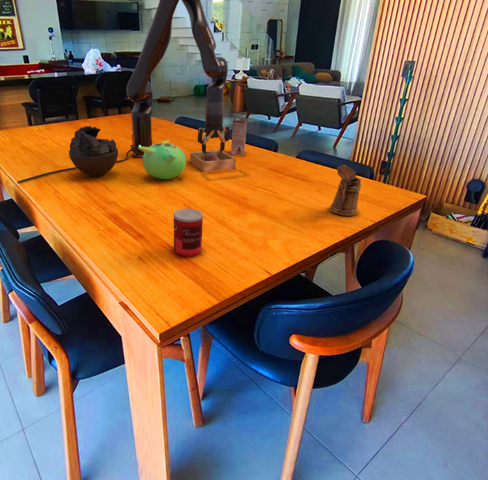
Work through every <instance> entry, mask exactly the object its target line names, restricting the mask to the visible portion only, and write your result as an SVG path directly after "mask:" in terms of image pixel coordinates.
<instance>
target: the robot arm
mask: <svg viewBox="0 0 488 480" xmlns="http://www.w3.org/2000/svg"><path fill="white" fill-rule="evenodd" d="M201 1H202V0H181V2H182V4H183V5H184V7H185V9H186V11H187V14H188V17H189V21H190V28H191V33H192V37H193V39H194V42H195V44H196V47H197V49H198V51H199V55H200V56H199V57H200V60H201V66H202V69H203V72H204V74H205V75H206V76H207V77H208V78H209V79H211V81H210V84H209V85H208V86H207V87H206V103H205V117H204V118H205V120H204V121H205V122H204V125H205V126H204V128H203V127H199V128H198V129H197V143H199V144H201V152H203V153H206V151H207V142H209V140H210V139H219V140H220V143H219V150H220V151H221V152H224V151H225V149H226V148H225V147H226V142H229V141H230V127H229V126H228V125H224V110H225V109H224V92H225V91H224V89H225V86H226V82H227V78H228V73H229V65H228V61H227V59H226V58H224V57H223V56H216V52H215V50H216V48H217V43H216V40H215V37H214V34H213V33H212V30H211V28H210V25H209V23H208V20H207V17H206V15H205V11H204V9H203V4H202V2H201ZM179 2H180V0H159V1H158V5H157V7H156V11H155V13H154V16H153V19H152V22H151V25H150V27H149V30H148V32H147V35H146V37H145V40H144V43H143V46H142V49H141V51H140V54H139V57H138V61H137V63H136V66H135V68H134V70H133V73H132V74H131V76H130V79H129V80H128V82H127V85H126V96H127V98H128V99H129V101H131V102H133V103H134V105H133V108H132V109H131V112H130V114H131V115H130V116H131V126H132V128H131V131H132V134H131V143H132V144H130V148H129V150H127V152H126V157H125V158H124V159H120V160H118V159H117V161H116V163H123V162H124V161H127V160H128V158H129V153H132V155H133V156H134V157H135V158H142V159H143V155H144V152H143V151H141V150H140V149H139V148H138V147H150V146H151V145H153V129H152V127H153V126H152V112H153V87H152V84H151V81H149V80H150V77H151V76H152V73H153V72H154V71H155V69H156V68H157V67H158V65H159V64H160V63H161V61H162V60H163V58H164V56H165V55H166V53H167V49H168V48H169V44H170V41H171V39H172V31H173V18H174V14H175V12H176V9H177V6H178V4H179ZM223 125H224V126H223ZM223 132H224V133H223ZM222 133H223V134H224V135H223V134H222ZM76 169H77V168H76V166H74V167H69V168H63V169H57V170H53V171H50V172H45V173H41V174H37V175H34V176H31V177H28V178H24V179H21V180H18V181H16V183H17V184H20V183H23V182H26V181H30V180H33V179H37V178H41V177H44V176H49V175H52V174H56V173H61V172H66V171H70V170H76ZM77 170H78V169H77Z"/></svg>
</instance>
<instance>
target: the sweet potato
mask: <svg viewBox="0 0 488 480" xmlns="http://www.w3.org/2000/svg"><path fill="white" fill-rule="evenodd" d="M217 160H220V159H219V158H218V157H217V156H216V155H214V154H212V153H207V154H206V155H205V161H217Z"/></svg>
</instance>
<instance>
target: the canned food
mask: <svg viewBox="0 0 488 480" xmlns="http://www.w3.org/2000/svg"><path fill="white" fill-rule="evenodd" d="M203 219H204V217H203V212H201V211H200V210H198V209H194V208H180V209H177V210H175V211H174V212H173V249H174V252H175V253H176V255H179V256H181V257H184V258H185V257H186V258H191V257H196V256H198V255H199V254H200V253H201V252H202V248H203V222H204V220H203Z"/></svg>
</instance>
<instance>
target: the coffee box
mask: <svg viewBox="0 0 488 480" xmlns="http://www.w3.org/2000/svg"><path fill="white" fill-rule="evenodd" d="M247 127H248V117H234V118H233V120H232V130H231V132H232V133H231V145H230V156H231V155H233V156H241V157H243V156H244V154H245V152H246V151H245V149H246V139H247Z"/></svg>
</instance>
